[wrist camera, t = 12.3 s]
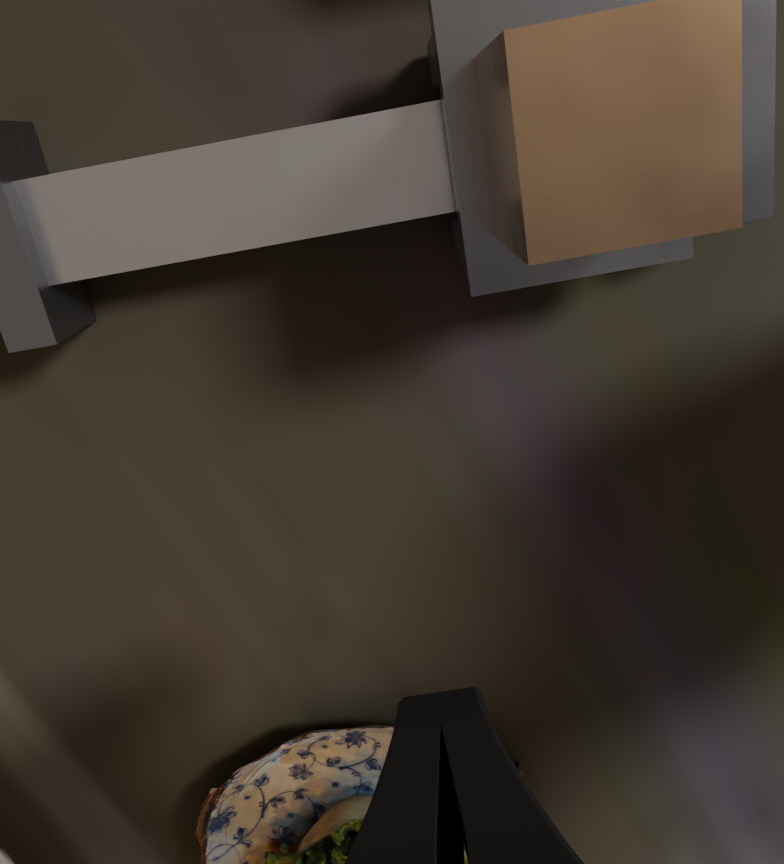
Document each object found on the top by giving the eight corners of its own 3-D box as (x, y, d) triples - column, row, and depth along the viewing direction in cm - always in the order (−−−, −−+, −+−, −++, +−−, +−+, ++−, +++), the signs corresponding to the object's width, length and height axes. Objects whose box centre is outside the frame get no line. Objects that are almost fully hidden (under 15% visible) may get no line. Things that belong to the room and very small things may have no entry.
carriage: (638, -23, 17) (790, -120, 11) (650, 242, 19) (783, 291, 13) (422, 20, 17) (446, -51, 11) (459, 276, 19) (496, 340, 13)
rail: (722, -13, 17) (776, -37, 15) (724, 207, 19) (773, 216, 17) (-15, 131, 18) (-76, 129, 16) (53, 327, 20) (8, 352, 18)
